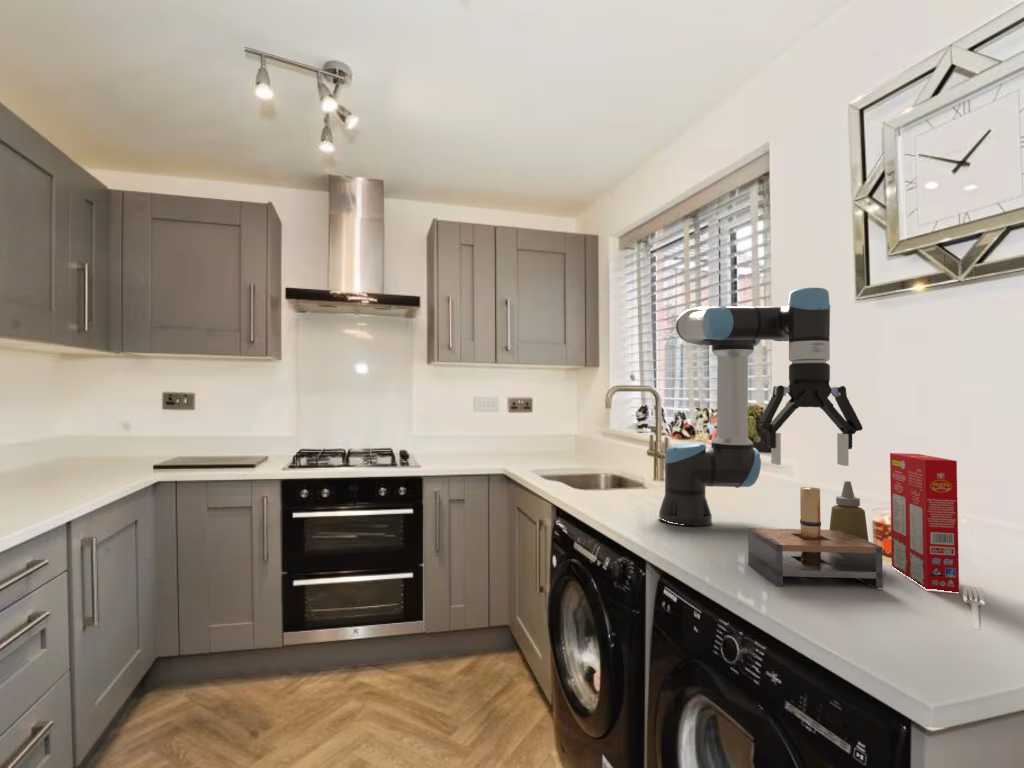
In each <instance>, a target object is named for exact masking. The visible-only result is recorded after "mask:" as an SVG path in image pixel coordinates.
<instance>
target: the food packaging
mask: <svg viewBox="0 0 1024 768" xmlns="http://www.w3.org/2000/svg"><path fill="white" fill-rule="evenodd" d="M957 463H958V462H957V460H953V459H949V458H942V457H938V456H931V455H926V454H920V453H904V452H903V453H901V452H900V453H899V452H894V453H893V452H890V453H889V471H890V474H889V475H890V477H889V479H890V480H889V481H890V485H889V486H890V526H891V527H890V538H891V539H890V541H891V542H890V544H891V545H890V546H891V548H890V549H891V567H892V566H893V567H894V568H896V569H897V570H899V571H900V572H902V573H903V574H905V575H906V576H908V577H910V578H911V579H913V580H914V581H916V582H917V583H918V584H920V585H922V586H923V587H925V588H926V589H937V590H944V591H952V592H959V593H960V568H959V567H960V563H959V512H958V507H959V506H958V464H957Z"/></svg>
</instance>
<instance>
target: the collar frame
mask: <svg viewBox="0 0 1024 768" xmlns="http://www.w3.org/2000/svg"><path fill="white" fill-rule="evenodd" d="M747 540H748V541H747V545H748V546H747V547H748V548H747V549H748V550H747V555H748V557H747V558H748V559H747V561H748V562H747V564H748V566H749V567H751V568H752V569H754V570H755V572H757V573H758V574H760V575H761V576H763V577H764V578H765V579H766V580H767V581H769V582H770V583H771V584H772V585H774V586H776V587H783V586H784V577H803V578H806V577H821V578H837V579H838V578H840V579H841V578H845V579H849V578H851V579H857V578H858V579H857V580H859V579H860V580H859V581H861V580H862V581H861V582H863V581H864V582H863V583H865V584H866V583H867V584H866V585H868V584H869V585H868V586H870V585H871V586H870V587H872V586H873V587H872V588H874V587H875V588H883V589H884V584H883V583H884V581H883V580H884V578H883V576H884V575H883V574H884V573H883V572H884V571H883V568H884V567H883V547H882V546H880V545H878V544H876V543H873V542H870V541H866V540H864V539H861V538H859V537H857V536H854V535H852V534H849V533H847V532H845V531H842V530H829V529H821V541H820V540H802V539H801V528H770V527H769V528H765V527H763V528H759V527H758V528H757V527H748V528H747ZM801 552H821V565H818V564H803V563H801ZM875 588H874V589H875Z"/></svg>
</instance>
